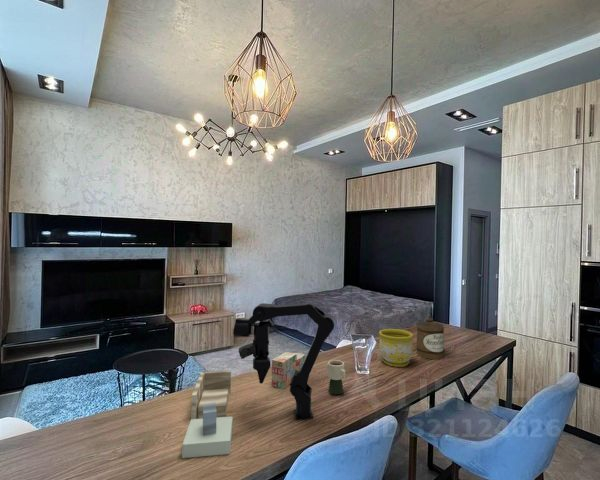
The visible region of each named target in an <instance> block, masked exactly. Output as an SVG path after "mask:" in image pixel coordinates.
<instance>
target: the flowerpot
mask: <svg viewBox="0 0 600 480" xmlns="http://www.w3.org/2000/svg"><path fill="white" fill-rule="evenodd" d="M378 335H379V341H378V342H379V343H378V350H379V353H380V356H381V357H382V358H381V360H382V361H383V363H384V364H385V365H387V366H389V367H393V366H394V367H395V368H404V367H407V366H408V365H409V364H410V359H411V358H412V357H413V356H412V355H413V353H414V352H413V350H414V348H413V347H414V346H413V337H414V335H413V333H412V332H411V331H408V330H405V329H399V328H386V329H381V330H379V332H378Z"/></svg>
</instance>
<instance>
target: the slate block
mask: <svg viewBox="0 0 600 480" xmlns="http://www.w3.org/2000/svg"><path fill="white" fill-rule="evenodd" d="M216 414H217V411H216V403H208V404H203V418H202V419H203V436H205V435H211V434H216V418H217V417H216Z"/></svg>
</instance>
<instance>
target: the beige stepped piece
mask: <svg viewBox="0 0 600 480" xmlns="http://www.w3.org/2000/svg"><path fill="white" fill-rule="evenodd" d="M231 377H232V370H229V369H226V370H212V371H211V370H210V371H201V372H200V374H199V376H198V379H197V381H196V384H195V386H194V389H193V391H192V394H191V416H190V418H191V419H203V404H208V403H216V411H217V414H216V418H217V417H227V411H228V410H227V409H228V402H229V393H230V394H231V388H232V387H231V385H232V384H231V383H232V381H231V380H232V379H231ZM191 419H190V420H191Z"/></svg>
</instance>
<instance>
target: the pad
mask: <svg viewBox="0 0 600 480" xmlns="http://www.w3.org/2000/svg"><path fill="white" fill-rule="evenodd" d="M233 420H234V419H233V416H224V417H216V434H211V435H205V436H203V418H196V419H190V422H189V424H188V427H187V431H186V433H185V436H184V439H183V440H182V441H183V442H182V444H181V446H182V447H181V448H182V449H181V459H186V458H187V459H188V458H189V459H190V458H199V457H210V456H219V455H230V454H231V445H232V436H233V429H234V428H233V425H234V424H233V423H234V422H233Z"/></svg>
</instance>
